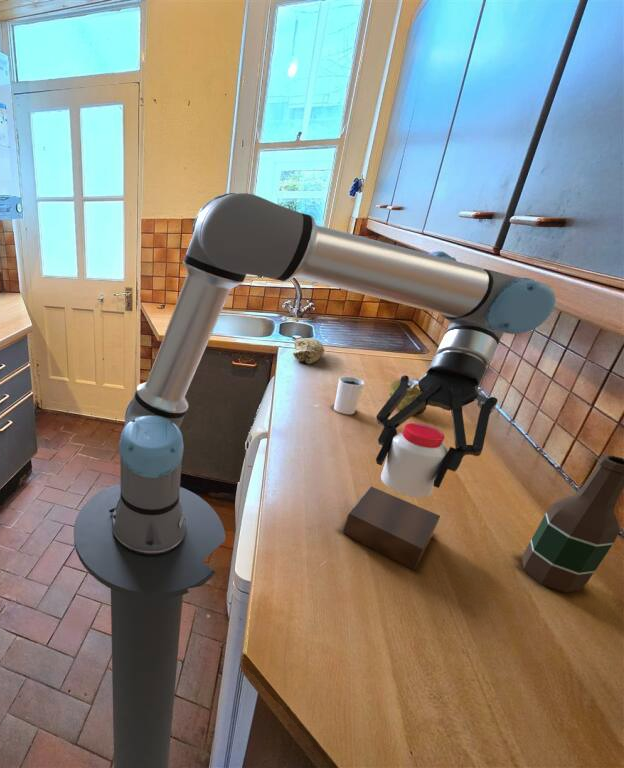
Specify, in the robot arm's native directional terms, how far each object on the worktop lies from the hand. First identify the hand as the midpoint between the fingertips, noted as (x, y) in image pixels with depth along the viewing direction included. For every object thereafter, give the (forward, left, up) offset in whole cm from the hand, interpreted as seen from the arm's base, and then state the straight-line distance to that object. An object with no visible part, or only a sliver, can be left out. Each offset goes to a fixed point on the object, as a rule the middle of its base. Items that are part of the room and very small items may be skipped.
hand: (406, 473), depth 69 cm
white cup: (-26, +53, -18) cm, 62 cm away
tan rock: (-56, +91, -18) cm, 109 cm away
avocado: (-14, +68, -18) cm, 72 cm away
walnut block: (0, +5, -17) cm, 18 cm away
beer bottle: (+22, +15, -18) cm, 32 cm away
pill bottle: (0, +3, -4) cm, 5 cm away
